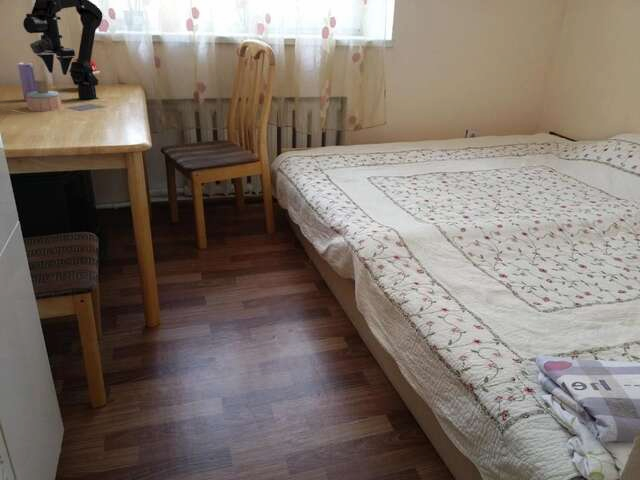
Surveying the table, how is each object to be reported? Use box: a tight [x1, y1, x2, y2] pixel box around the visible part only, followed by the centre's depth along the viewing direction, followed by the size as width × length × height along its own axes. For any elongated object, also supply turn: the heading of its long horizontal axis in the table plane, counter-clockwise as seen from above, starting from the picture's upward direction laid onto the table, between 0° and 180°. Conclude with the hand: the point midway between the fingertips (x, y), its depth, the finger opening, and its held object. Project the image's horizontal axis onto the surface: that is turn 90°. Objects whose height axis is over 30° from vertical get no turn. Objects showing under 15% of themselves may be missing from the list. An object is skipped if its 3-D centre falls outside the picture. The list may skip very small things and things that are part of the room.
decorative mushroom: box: [68, 57, 101, 88], centre depth 252 cm, size 14×14×15 cm
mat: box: [65, 103, 106, 112], centre depth 214 cm, size 12×10×1 cm
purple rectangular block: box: [17, 62, 37, 102], centre depth 224 cm, size 6×6×15 cm
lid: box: [27, 79, 60, 98], centre depth 207 cm, size 11×11×6 cm
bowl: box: [26, 94, 63, 112], centre depth 210 cm, size 12×12×5 cm
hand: (57, 73), depth 213 cm, fingers open, 9 cm apart
